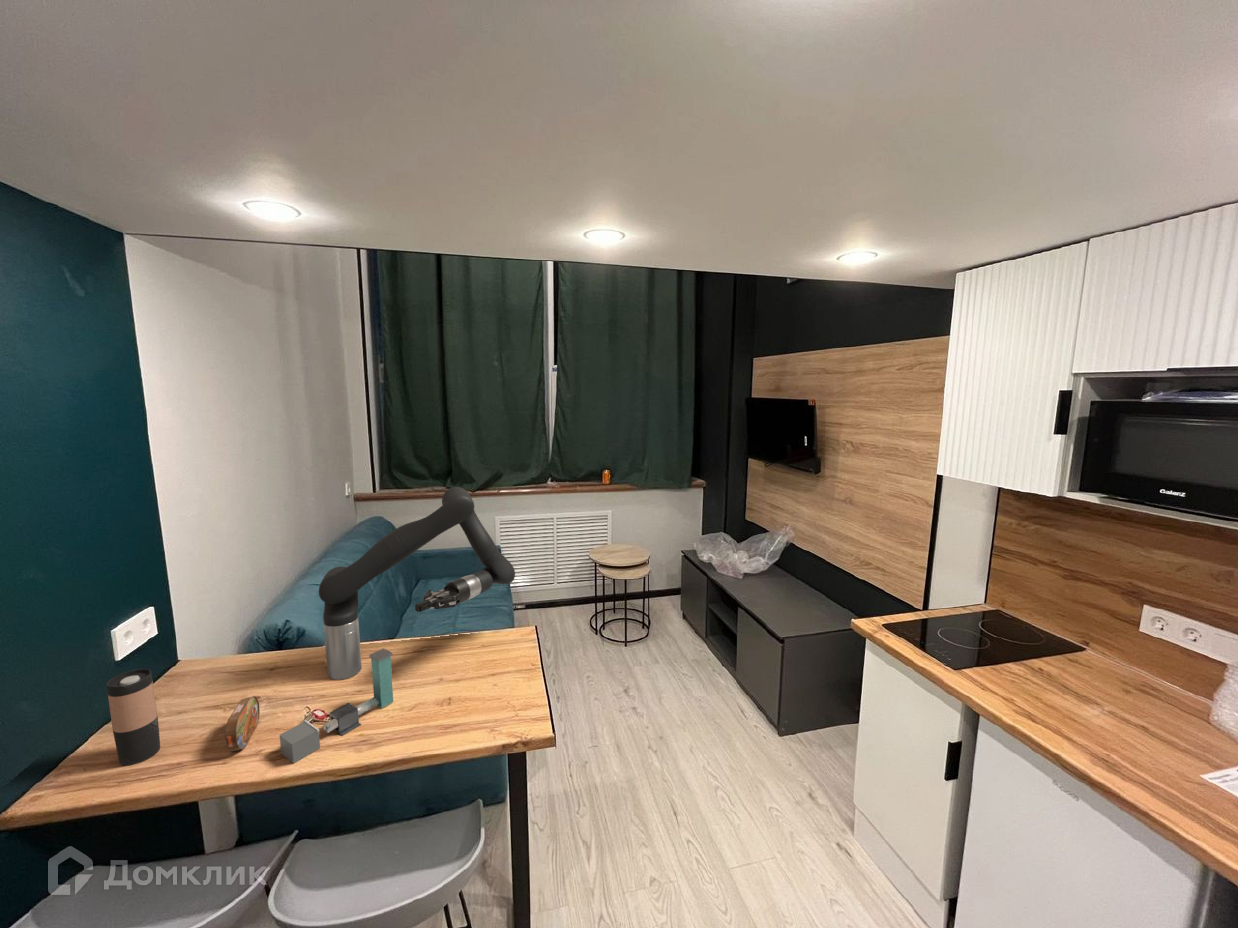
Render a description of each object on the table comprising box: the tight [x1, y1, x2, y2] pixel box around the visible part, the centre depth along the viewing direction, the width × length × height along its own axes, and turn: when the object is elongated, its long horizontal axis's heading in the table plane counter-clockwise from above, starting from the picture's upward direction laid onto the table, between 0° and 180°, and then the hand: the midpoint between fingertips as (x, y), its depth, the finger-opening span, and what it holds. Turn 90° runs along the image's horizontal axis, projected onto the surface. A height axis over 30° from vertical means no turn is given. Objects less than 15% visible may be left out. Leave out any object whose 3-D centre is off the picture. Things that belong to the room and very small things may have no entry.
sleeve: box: [329, 702, 362, 737], centre depth 128 cm, size 6×5×4 cm
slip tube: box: [322, 648, 394, 734], centre depth 131 cm, size 4×18×15 cm, turn 148°
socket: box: [279, 719, 321, 764], centre depth 119 cm, size 6×6×5 cm
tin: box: [224, 695, 261, 752], centre depth 123 cm, size 15×3×8 cm, turn 20°
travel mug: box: [106, 668, 161, 766], centre depth 116 cm, size 8×8×20 cm
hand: (416, 608), depth 144 cm, fingers closed
